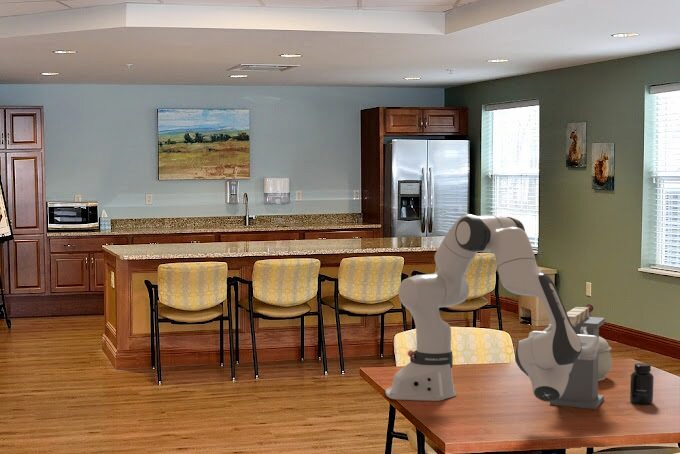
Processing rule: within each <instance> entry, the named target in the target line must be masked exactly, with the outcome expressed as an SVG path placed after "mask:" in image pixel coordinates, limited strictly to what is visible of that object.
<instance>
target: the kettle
mask: <svg viewBox="0 0 680 454" xmlns="http://www.w3.org/2000/svg"><path fill="white" fill-rule="evenodd" d="M584 307H587V308H589V317H593V313H592V312H593V311H594V306H593V304H586V305H585V306H584ZM611 351H612V347H611V346H610V345H609V343H608V342H607V340H606V339H605V338H603V337H602V336H600V335H599V354H598V382H602V381H605V380H606V378H607V377H606V375H608V374H609V372H610V371H611V370H612V368H613V358H612V354H611Z"/></svg>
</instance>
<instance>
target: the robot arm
mask: <svg viewBox="0 0 680 454" xmlns="http://www.w3.org/2000/svg"><path fill="white" fill-rule="evenodd" d="M533 249H534V248H533V247H532V244H531V241H530V239H529V236H528V234H527V232H526V229H525V225H524V224H523V222H522V221H520V220H519V219H516V218H514V217H512V216H511V217H510V216H502V215H491V214H490V215H474V214H471V213H468V214H467V213H466V214H462V215H461V216H459V217H458V219H457V220H455V222H454V223H453V224H452V226H451V227H450V228H449V230H448V231H447V232H446V234H445V236H444V237H443V239H442V241H441V243H440V245H439V247H438V249H437V250H436V252H435V253H434V262H435V265H436V267H437V270H436V271H435V272H433V273H427V274H426V273H425V274H424V273H423V274H416V275H412V276H410V277H407V278H405V279H403V280H402V281H401V282H400V284H399V287H398V299H399V301H400V302H401V304H402V305H403V306H404V308H406V309H407V310H408V311H409V312H410V314H411V316H412V319H413V321H414V325H415V333H416V349H415V350H414V351H413V350H412V349H410V350H409V349H408V351H407V356H408V357H409V360H410V362H408V363H407V364H406V365H405V366H403V367H402V368H401V369H399V370H397V372H395V374H394V376H393V378H392V379H393V380H392V384H391V385H392V386H389V387H388V388H386V389H385V396H386V397H388V398H389V399H391V400H401V401H402V400H403V401H427V402H428V401H431V402H432V401H433V402H434V401H435V402H440V401H443V400H445V399H450V398H454V397H455V396H456V395H457V393H456V390H455V386H454V380H453V379H454V378H453V373H452V372H453V371H452V370H453V364H454V362H453V361H454V354H453V351H452V328H451V325H450V324H449V323H448V322H447V321H445V320H443V319H442V317H441V314H440V308H447V307H453V306H456V305H460V304H462V303H464V302H465V301H467V299H468V297H469V293H470V285H469V282H468V279H467V278H466V274H467V272H468V269H469V268H470V266H471V264H472V263H473V261H474V259H475V258H476V256H477V254H478V252H479V253H486V254H491V253H493V256H494V258H495V262H496V268H497V272H498V277H499V280H500V283H501V284H502V287H504V289H506V291H508V292H510V293H512V294H514V295H519V296H528V297H535V298H537V299H539V300H540V301H541V303H542V304H543V308H544V310H545V311H546V314H547V317H548V319H549V322H550V324H548V326H547V327H546V328H544V329H543V330H542V331H541V330H533V331H530V332H529V333H528V337H526V338H524V339H523V338H522V339H520V340H519V341H518V342H517V344H516V347H515V352H514V353H515V354H514V357H515V358H514V359H515V363H516V365H517V366H518V368H519V369H520V370H521V372H522V373H524V374H525V375H526V376H527V377H529V379H530V382H531V387H532V393H533V395H534V396H535V398H537V399H538V400H539V401H542V402H545V403H546V402H548V403H550V402H551V401H556V400H558V399H559V398H560V397H561V396H562V395H563V393H564V391H565V389H566V386H567V383H568V380H569V373H570V372H571V370H572V366H573V363H575V362H576V360H585V361H590V360H593V359H596V357H597V351H598V349H599V338H598V337H597V336H594V335H588V333H587V329H586V327H581V329H580V332H581V334H577V333H576V332H575V330H574V328H573V326H572V324H571V322H570V320H569V317H568V315H567V310H566V308H565V306H564V303H563V302H562V301H563V300H562V298H561V296H560V294H559V292H558V289H557V287H556V285H555V283H554V282H553V281H554V280H552V278H551V276H549V275H548V274H546V273H543V272H542V271H541V270H540V268H539V266H538V264H537V261H536V260H537V259H536V257H535V253H534V250H533Z"/></svg>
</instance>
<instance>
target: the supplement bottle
mask: <svg viewBox="0 0 680 454" xmlns="http://www.w3.org/2000/svg"><path fill="white" fill-rule="evenodd" d="M651 366H652V365H651V364H649V363H645V362H644V363H643V362H637V363H636V362H635V363H634V369H633V370H634V371H633V372H632V373H631V374H630V388H629V389H630V390H629V391H630V392H629V401H630V402H631V403H632V404H634V405H643V406H648V405H651V404H653V402H654V400H653V399H654V383H655V382H654V381H655V379H654V375H653V373H651Z"/></svg>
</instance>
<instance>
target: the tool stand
mask: <svg viewBox="0 0 680 454" xmlns="http://www.w3.org/2000/svg"><path fill="white" fill-rule="evenodd" d="M605 323H606V318H605V317H597V316H596V317H595V316H592V317H588V318H587V319H585V320H584V321H582V322H581V323H580V324H578V325H577V326H575V327H573V328H574V330H575V332H576V333H577V334H581V332H580V329H581V327H586V329H587V333H588V335H594V336H597V337H598V338H599V336H600V334H599V333H600V328H601V326H604V324H605ZM598 354H599V349H598V351H597V357H596V359H593V360H590V361H585V360H576V362H575V363H573V366H572V370H571V372H570V373H569V380H568V383H567V386H566V389H565V391H564V393H563V395H562V396H561V397H560V398H559V399H558V400H556V401H551V402H549V405H552V406H562V407H571V408H579V409H588V410H589V409H590V410H597V409H598V408H599V407H600V405H601V404H602V403H603V402H604V400H605V399H604V397H605V395H604V394H603V395H602V394H599V381H598Z"/></svg>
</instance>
